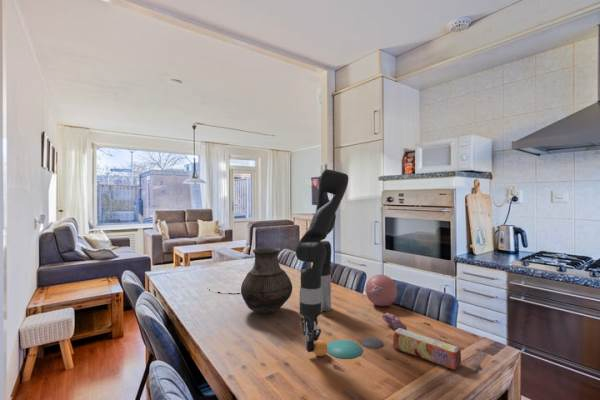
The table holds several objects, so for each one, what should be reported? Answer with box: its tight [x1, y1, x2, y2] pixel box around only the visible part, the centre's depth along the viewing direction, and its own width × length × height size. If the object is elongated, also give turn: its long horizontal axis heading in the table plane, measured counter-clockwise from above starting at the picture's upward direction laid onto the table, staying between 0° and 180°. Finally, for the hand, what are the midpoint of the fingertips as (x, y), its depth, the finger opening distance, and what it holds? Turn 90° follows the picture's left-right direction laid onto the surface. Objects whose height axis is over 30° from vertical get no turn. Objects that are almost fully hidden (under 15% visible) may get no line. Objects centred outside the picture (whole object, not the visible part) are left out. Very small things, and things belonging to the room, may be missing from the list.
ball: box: [313, 339, 328, 357], centre depth 103 cm, size 5×5×5 cm
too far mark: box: [361, 337, 385, 349], centre depth 111 cm, size 8×8×1 cm
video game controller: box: [382, 312, 408, 331], centre depth 124 cm, size 10×5×7 cm, turn 21°
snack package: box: [392, 328, 462, 371], centre depth 101 cm, size 21×7×7 cm, turn 46°
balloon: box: [364, 274, 398, 307], centre depth 149 cm, size 15×20×15 cm
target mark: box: [326, 339, 363, 360], centre depth 107 cm, size 13×13×1 cm
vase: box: [240, 247, 293, 314], centre depth 143 cm, size 25×25×30 cm
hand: (310, 350), depth 102 cm, fingers closed
